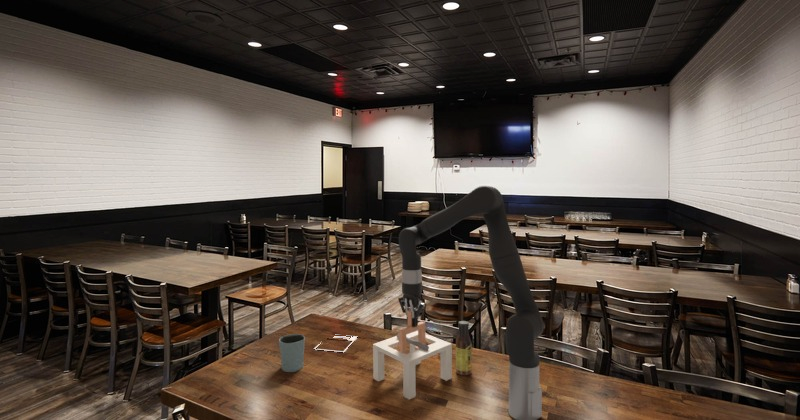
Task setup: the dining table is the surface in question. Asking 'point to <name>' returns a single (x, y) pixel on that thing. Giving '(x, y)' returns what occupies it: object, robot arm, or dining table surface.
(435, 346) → the small white table
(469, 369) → the sauce bottle
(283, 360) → the blue grey cup
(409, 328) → the tan wooden branched piece
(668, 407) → the dining table surface
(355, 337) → the white thin flat frame
